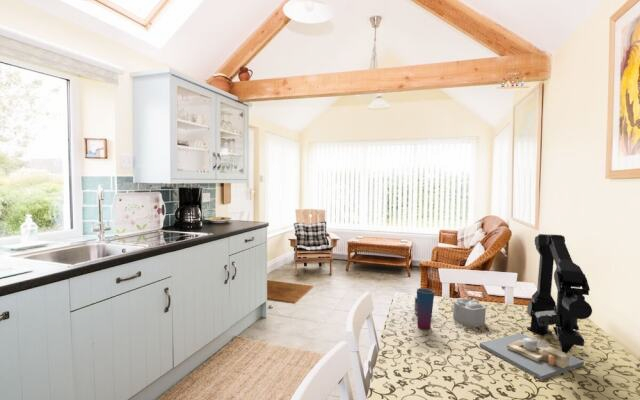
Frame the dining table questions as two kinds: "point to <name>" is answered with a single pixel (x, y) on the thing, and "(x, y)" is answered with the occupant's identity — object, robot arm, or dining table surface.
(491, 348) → the board
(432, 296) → the cup
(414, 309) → the pill bottle
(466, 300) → the lumpy-topped squat cylinder
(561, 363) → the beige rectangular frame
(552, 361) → the orange rounded piece
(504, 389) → the dining table surface
